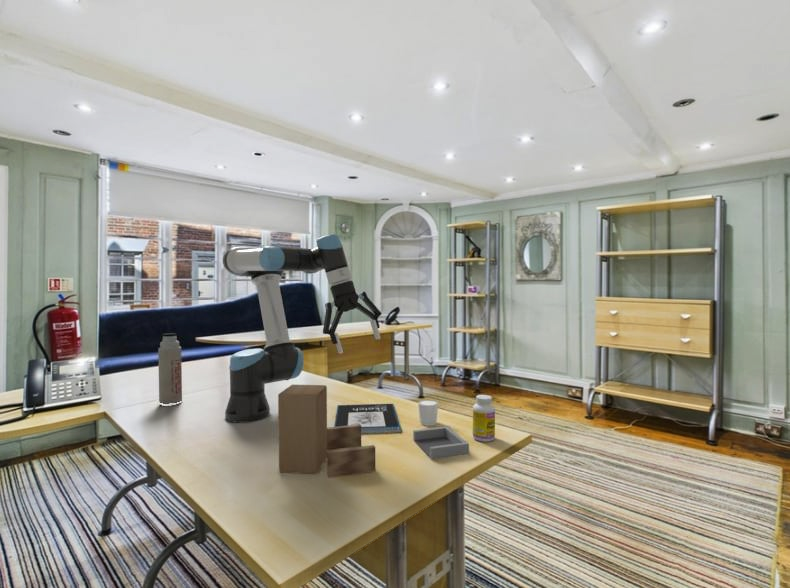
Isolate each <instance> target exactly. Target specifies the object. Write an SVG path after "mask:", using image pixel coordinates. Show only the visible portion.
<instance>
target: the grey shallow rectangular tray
mask: <svg viewBox="0 0 790 588" xmlns="http://www.w3.org/2000/svg"><path fill="white" fill-rule="evenodd" d="M412 432H413V434H412V436H413V437H412V438H413V439H412V440H413V442H414V443H415V444H416V445H417V446H418V447H419V448H420V449H421V450H422V452H424V454H426V456H427V457H428V458H429V459H430V460H438V459H444V458H445V459H446V458H447V459H448V458H452V457H460V456H461V457H462V456H468V455H469V454H470V443H469V442H468V441H466V440H465V439H464V438H462V437H461V436H460V435H459V434H458V433H456V432H455V431H454V430H453V429H451V428H450V427H449V426H439V427H431V428H422V429H414V430H412Z"/></svg>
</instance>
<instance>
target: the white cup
mask: <svg viewBox="0 0 790 588" xmlns="http://www.w3.org/2000/svg"><path fill="white" fill-rule="evenodd" d="M417 405H418V415H419V424H420V423H421V424H422V425H421V424H420V425H421V426H424V425H426V427H433V426H436V425H437V420H438V410H439V402H438V401H436V400H430V399H429V400H428V399H427V400H425V399H423V400H420V401H418V402H417Z"/></svg>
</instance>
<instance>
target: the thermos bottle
mask: <svg viewBox="0 0 790 588" xmlns="http://www.w3.org/2000/svg"><path fill="white" fill-rule="evenodd" d="M159 345H160V347H158V355H157V357H158V358H157V359H158V397H159V398H158V399H159V401H158V403H159V402H160V403H163V404H169V403H177V402H180V401H182V402H183V380H182V379H183V376H182V375H183V374H182V373H183V371H182V365H183V363H182V346H180V341H179V340H177V333H176V332H169V333H162V341H161V342H160V343H159Z"/></svg>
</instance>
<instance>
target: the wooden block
mask: <svg viewBox="0 0 790 588" xmlns="http://www.w3.org/2000/svg"><path fill="white" fill-rule="evenodd" d="M327 390H328V387H327V385H325V384H291V385H290V386H288V387H287V388H285V389H284V390H282V391H280V393H278V395H277V397H278V399H277V401H278V402H277V404H278V405H277V406H278V470H279V471H278V472H280V473H293V474H311V475H313V474H314V475H315V474H318V473H319V471H320V470H321V468H322V466H323V464H325V463H324V462H325V461H327V451H328V450H327V428H328V401H327V400H328V399H327V398H328V395H327V394H328V393H327V392H328V391H327Z"/></svg>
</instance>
